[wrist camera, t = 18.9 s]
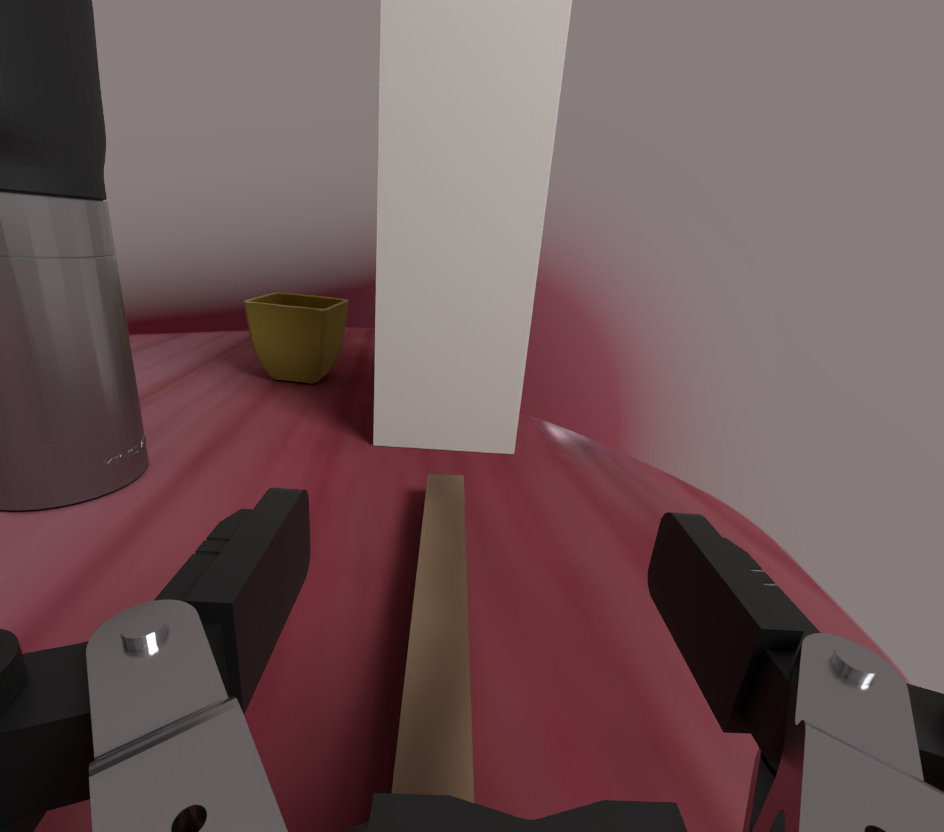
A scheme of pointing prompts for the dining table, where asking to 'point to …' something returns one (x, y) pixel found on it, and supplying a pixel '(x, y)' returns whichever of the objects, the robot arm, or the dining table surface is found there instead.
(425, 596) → the walnut bar
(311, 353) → the flower pot
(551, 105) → the off-white column
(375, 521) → the dining table surface
